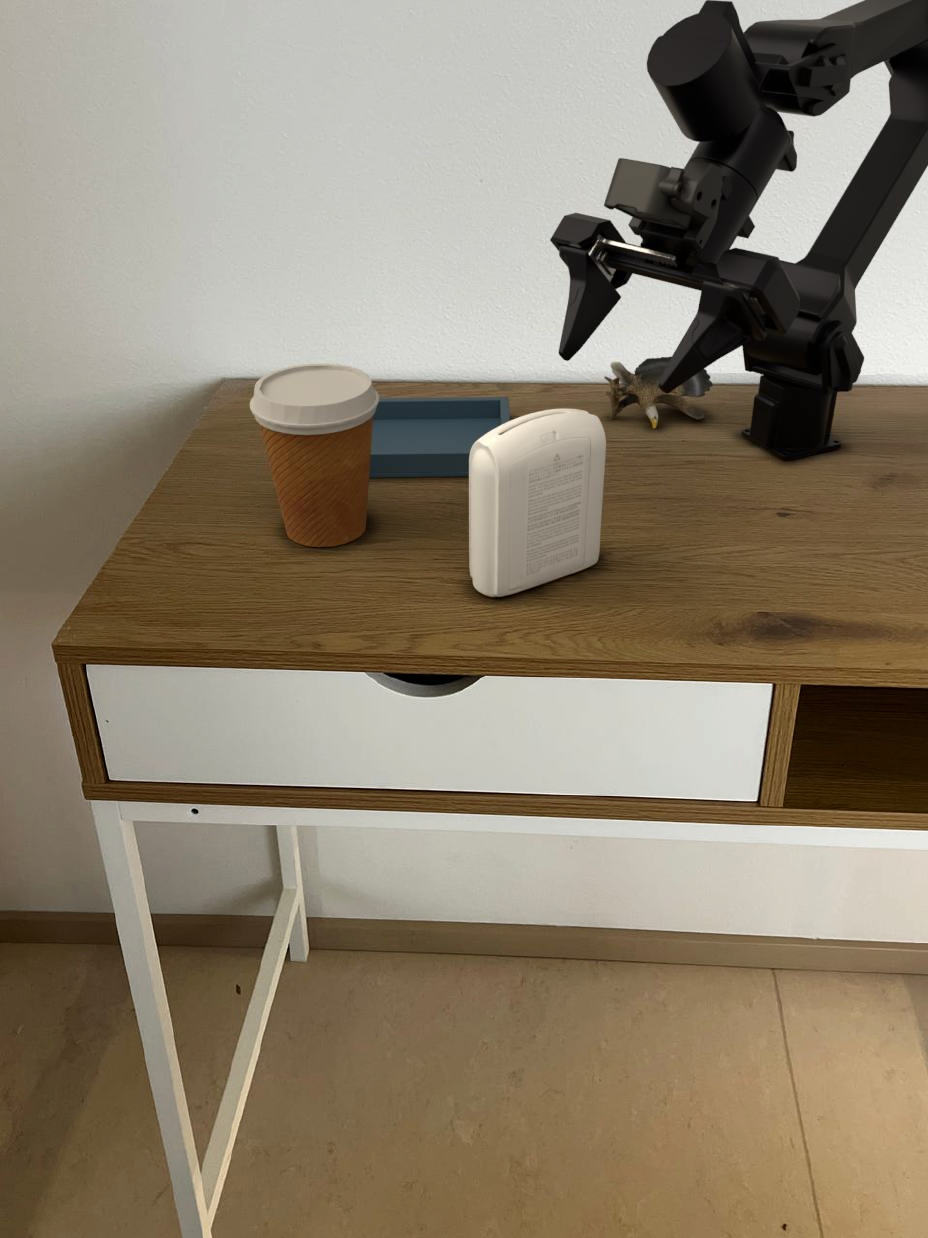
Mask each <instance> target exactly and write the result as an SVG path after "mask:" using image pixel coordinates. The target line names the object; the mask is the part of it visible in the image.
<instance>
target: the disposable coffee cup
mask: <svg viewBox="0 0 928 1238" xmlns="http://www.w3.org/2000/svg"><path fill="white" fill-rule="evenodd" d="M379 399H380V395H379V393H378V391H377V390H376V389H375V388H374V385H373V382H372V378H371V376H370V375H369V374H368V373H366V372H365V371H363V370H361V369H359V368H356V367H353V366H349V365H343V364H338V363H305V364H297V365H292V366H287V367H284V368H280V369H277V370H274V371H271V372H269V373H267V374H265V375H263V376H262V377H260V379H258V380H257V381H256V383H255V384H254V389H253V396H252V397H251V398H250V401H249V409H250V411H251V413H252V415H253V416H254V419H255V420H256V422H257V423H258V425H259V429H260V432H261V436H262V440H263V445H264V448H265V453H266V456H267V460H268V461H267V462H268V464H269V466H268V467H269V468H270V473H271V475H272V476H271V477H272V480H273V483H274V488H275V491H276V496H277V500H278V505H279V507H280V512H281V516H282V519H283V523H284V528H285V533H286V536H287V537H288V538H289V539H290V540H292V541H293V542H295V543H297V544H300V545H302V546H306V547H313V548H315V547H316V548H328V547H336V546H341V545H345V544H347V543H351V542H353V541H355V540H357V539H358V538H360V537H361V536H362V535H363V534H364V533H365V531H366V529H367V516H368V515H367V514H368V498H369V487H370V486H369V485H370V478H369V471H370V457H371V442H372V428H373V415H374V414H375V411H376V407H377V405H378V403H379Z"/></svg>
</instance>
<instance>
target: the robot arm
mask: <svg viewBox="0 0 928 1238" xmlns="http://www.w3.org/2000/svg"><path fill="white" fill-rule="evenodd" d="M647 55H648V56H647V58H646V59H647V60H646V71H647V73H648V75H649V78H650V79H651V81H652V83H653V85H654V87H656V90H657V91H658V94H659V95H660V97H661V99H662V101H663V103H664V104H665V106H666V107H667V109H668V111H669V113H670V115H671V116H672V118H673V120H674V121H675V123H676V125H677V127H678V129H679V131H680V132H681V133H682V135H683V136H684V137H685V138H686V139H689V140H690V141H692V142H698V144H697V145H696V147H695V149H694V151H693V152H692V153H691V156H690V157H689V159H688V161H687V162H686V164H685V165H684V166H683V167H684V168H680V167H675V166H671V167H670V166H666V165H663V164H658V163H651V162H646V161H641V160H635V159H629V158H623V157H619V158H618V159H617V161H616V164H615V168H614V172H613V174H612V178H611V181H610V184H609V187H608V189H607V190H608V191H607V193H606V197H605V199H604V204H603V206H604V208H606V209H608V210H611V211H612V210H614V209H615V210H617V211H619V212H622V213H623V214H625V215H627V216H629V217H631V219H630V221H629V223H627V225H628V227H629V228H630V230H631V231H632V233H633V234H634V235H635V236H639V237H640V238H641V243H640V245H636V244H633V243H628V242H626V240H625V239H624V237H623V236H622V235H621V233H620V232H619V230H618V229H617V227H616V226H615V225H614V223H613V222H612V220H611V219H607V218H603V217H597V216H593V215H588V214H584V213H579V212H573V213H569V214H566V215H564V216H563V217H562V218H561V220H560V221H559V223H558V226H557V227H556V228H555V230H554V232H553V234H552V236H551V238H550V239H549V241H550V242H551V244H552V245H553V246H554V247H555V248H556V250H557V251H558V256H559V259H560V260H561V261H562V262H563V263H564V264H565V266H566V267H567V269H568V274H569V290H568V298H567V299H568V300H567V306H566V311H565V316H564V322H563V326H562V332H561V337H560V343H559V347H558V355H559V357H561V358H562V360H564V361H566V362H568V361H570V360H571V359H572V358H573V357H574V356H575V355H576V354H577V353H578V352H579V351H580V350H581V349H582V348H583V346H585V344H586V343H587V342H588V340H589V339H590V338H591V336H593V334H594V333H595V331H596V330H597V329H598V328H599V326H600V325H601V324H602V322H603V321H604V320H605V319H606V317H608V315H610V313H611V311H613V309H614V307H615V306H616V305H617V304H618V302H620V300H621V298H622V296H621V294H620V293H619V291H618V290H617V289H619V288H621V287H623V286H625V285H627V284H628V282H629V281H630V279H631V277H632V275H637V276H641V277H645V278H649V279H652V280H657V281H661V282H665V283H668V284H672V285H677V286H681V287H684V288H688V289H692V290H696V291H700V295H699V296H700V297H699V302H698V306H697V307H698V308H697V312H696V314H695V316H694V318H693V320H692V321H691V323H690V325H689V326H688V328H687V330H686V331H685V333H684V335H683V337H682V339H680V342H679V343H678V345H677V347H676V349H675V350H674V352H673V353H672V356H670V357H671V359H670V361H669V362H668V364H667V366H666V368H665V370H664V373H663V375H662V377H661V379H660V381H659V384H658V387H659V388H660V390H661V391H662V392H663V393H666V394H668V393H670V392H671V391H673V390H674V389H676V388H677V387H679V386H680V385H681V384H683V383H684V382H686V381H687V380H689V379H690V378H692V377H693V376H694V375H696V374H697V373H699V372H700V371H702V370H703V369H706V368H708V367H709V366H711V365H712V364H713V363H715V362H717V361H718V360H720V359H721V358H723V357H725V356H727V355H728V354H730V353H732V352H734V351H735V350H737V349H739V348H741V347H742V354H743V355H742V357H743V365H744V370H745V371H746V372H749V373H754V374H755V373H756V374H759V375H760V377H759V383H758V391H757V393H755V395H754V398H753V405H752V412H751V413H752V414H751V420H750V427H748V428H747V427H746V428H743V429H742V430H741V433H740V436H742V437H743V438H745V439H746V440H748V441H750V442H751V443H753V444H755V445H756V446H758V447H760V448H762V449H763V450H765V451H766V452H768V453H770V454H772V455H774V456H775V457H777V458H779V459H780V460H783V461H790V460H795V459H798V458H803V457H807V456H811V455H816V454H821V453H825V452H828V451H832V450H837V449H840V448H842V444H843V442H842V441H841V440H840V439H838V438H836V437H834V436H832V435H831V433H832V428H833V420H834V416H835V410H836V403H837V397H838V393H844V392H845V393H847V392H848V393H849V392H851V391H852V390H853V386H854V384H855V383H857V381H858V379H859V376H860V375H861V372H862V368H863V364H864V362H865V355H864V354H863V351H862V350H861V348H860V346H859V344H858V342H857V340H856V338H855V336H854V334H853V332H854V330H855V328H856V327H857V326H856V325H857V323H858V318H857V301H856V300H857V299H856V289H857V286H858V284H859V283H860V281H861V280H862V278H863V276H864V274H865V273H866V271H867V269H868V267H869V266H870V264H871V263H872V261H873V259H874V258H875V256H876V254H877V252H878V251H879V249H880V247H881V246H882V244H883V242H884V240H885V239H886V237H887V235H888V234H889V232H890V231H891V229H892V227H893V225H894V224H895V223H896V220H897V219H898V217H899V215H900V214H901V212H902V210H903V209H904V207H905V205H906V204H907V202H908V200H909V198H910V197H911V195H912V194H913V192H914V190H915V188H916V187H917V185H918V184H919V182H920V180H921V178H922V177H923V175H924V173H925V171H927V168H928V0H862V1H859V2H857V3H854V4H852V5H850V6H848V7H845V8H842V9H840V10H838V11H835V12H833V13H831V14H827V15H826V16H823V17H821V18H815V19H775V20H760V21H755V22H754V23H752V24H751V25H750V26H748V27H747V28H746V29H745V31H744V30H743V28H742V26H741V22H740V18H739V14H738V12H737V9H736V7H735V4H734V2H733V1H729V0H705V1H704V3H703V5H702V6H701V8H700V10H699V12H698V13H695V14H692V15H689V16H686V17H685V18H683V19H681V20H680V21H678V22H676V23H674V24H673V25H672V26H671V27H670V28H668V29H667V30H666V31H665V32H664V33H663V34H662V35H659V36H658V37H657V38H656V39H655V41H654V42H653V44H652V45H651V47H650V50H649V51H648V54H647ZM881 63H884V65H885V67H886V69H887V71H888V72H889V75H890V78H889V80H888V96H889V111H890V113H889V116H888V117H887V120H886V121H885V123H884V125H883V126H882V128H881V130H880V131H879V133H878V135H877V136H876V138H875V140H874V142H873V143H872V145H871V146H870V148H869V150H868V151H867V153H866V155H865V156H864V158H863V159H862V161H861V163H860V165H859V167H858V168H857V170H856V172H855V174H854V175H853V177H852V178H851V180H850V182H849V183H848V185H847V187H846V188H845V190H844V192H843V193H842V195H841V196H840V198H839V201H838V202H837V203H836V205H835V206H834V208H833V210H832V212H831V214H830V215H829V217H828V219H827V220H826V221H825V224H824V225H823V226H822V228H821V230H820V232H819V234H818V236H817V237H816V239H815V240H814V242H813V244H812V245H811V247H810V249H809V251H808V252H807V254H806V255H805V256H804V258H801V259H800V260H798V261H797V262H792V261H791V262H790V261H786V260H781V259H780V258H779V257H778V256H775V255H771V254H766V253H762V252H758V251H757V252H756V251H752V250H748V249H743V248H740V247H739V248H738V247H733V248H732V246H733V244H734V243H735V241H736V239H737V238H738V237H739V238H743V239H744V238H745V239H749V238H750V236H751V235H752V233H753V232H754V229H755V228H756V226H755V224H754V222H753V219H752V218H751V217H750V215H751V214H752V212H753V210H754V208H755V207H756V205H757V203H758V201H759V200H760V198H761V196H762V194H763V192H764V191H765V189H766V188H767V186H768V185H769V182H770V181H771V179H772V176H773V175H774V174H775V172H776V171H784V172H790V173H792V172H795V171H796V169H797V165H798V155H797V154H798V153H797V151H796V148H795V141H794V140H795V132H794V131H793V130H789V129H788V128H787V126H786V124H785V122H784V119H783V117H782V116H781V115H780V113H781V114H782V113H783V114H789V115H798V116H805V117H818V116H822V115H823V114H825V113H826V112H827V111H829V110H830V109H831V108H832V107H833V106H835V105H836V104H837V103H839V102H840V101H841V100H843V99H844V98H845V97H846V96H847V95H848V94H849V93H850V90H851V81H852V79H853V78H854V77H855V76H857V75H858V74H861V73H862V72H865V71H866V70H868V69H871V68H873V67H875V66H877V65H879V64H881Z"/></svg>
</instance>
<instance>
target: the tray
mask: <svg viewBox="0 0 928 1238" xmlns="http://www.w3.org/2000/svg"><path fill="white" fill-rule="evenodd" d="M509 421H511V411H510V399H509V396H475V397H473V396H472V397H470V396H467V397H465V396H464V397H463V396H462V397H394V398H390V397H388V398H380V397H379V403H378V405H377V407H376V411H375V414H374V415H373V428H372V442H371V457H370V471H369V479H371V478H373V479H374V478H441V477H442V478H443V477H444V478H446V477H448V478H449V477H450V478H451V477H452V478H453V477H454V478H455V477H469V456H470V451H471V448H472V446H473V444H474V443H475V442H476V441H477V440H478V439H480V438H481V437H482V436H484V435H485V434H487V433H488V432H490V431H491V430H493V429H495V428H497V427H499V426H500V425H502V424H504V423H507V422H509Z"/></svg>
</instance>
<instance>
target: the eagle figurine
mask: <svg viewBox="0 0 928 1238" xmlns="http://www.w3.org/2000/svg"><path fill="white" fill-rule="evenodd" d="M671 357H672V356H665V357H664V356H661V357H649V358H646V359H644V361H642V362H641V363H640V364H639V365H638V366H637V367H636V368H635V369H634V372H633V373H632V372H631V371H629V370H628V369H627V368H626V367H625V366H624V364H623V363H622V362H620V361H612V362H610V368H611V372H612V374H613V375H614V376H615V378H613V379H612V378H610V377H608V376H604V379H605V380H606V381H607V382H608V383H609V385H610V386H609V387H610V391H608V390H607V391H606V392H605V395H606V396H607V397H608V399H609V401H610V405H611V410H610V414H609V417H610V419H614V418H616V417H617V415H619V414H620V413H621V412H622V411H623V409H625V408H626V407H628V406H631V405H633V404H638V406H639V407H640V409H641V410H642V411H643V412H644V413H645V415H646V416H647V417H648V419H649V421H650V422H651V425H652V429H657V427H658V423H659V413H658V410H657V407H656V404H664V405H667V406H670V407H672V408H673V409H676V410H679V411H681V412H682V413H684V414H685V415H687V416H688V417H691V418H693V419H695V420H696V421H697V420H703V419H704V418H705V414H704V413H703V412H701V411H700V410H699V409H697V408H695V407H693V406H691V404H690V403H688V401H687V400H686V399H685V398H684V397H689V398H702V397H704V396H706V392H710V390H711V387H713V382H712V381H711V380H710V379H711V374H709V373H708V371H707V369H706V368H704V369H703V370H702V371H700V372H699V373H697V374H696V375H694V376H693V377H692V378H690V379H689V380H687V381H686V382H684V383H683V384H681V385H680V386H679V387H677V388H676V389H674V390H673V391H671V392H670V393H668V394H666V393H663V392H662V391H661V390H660V388H659V387H658V384H659V381H660V379H661V377H662V375H663V373H664V370H665V368H666V366H667V364H668V362H669V361H670V359H671ZM620 383H621V384H622V385H624V386H621V387H620ZM621 398H622V399H621Z"/></svg>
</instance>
